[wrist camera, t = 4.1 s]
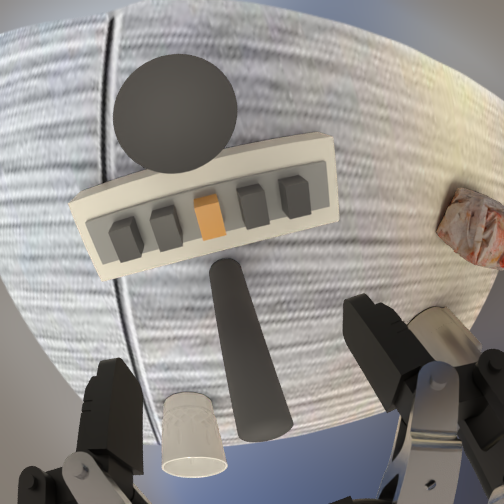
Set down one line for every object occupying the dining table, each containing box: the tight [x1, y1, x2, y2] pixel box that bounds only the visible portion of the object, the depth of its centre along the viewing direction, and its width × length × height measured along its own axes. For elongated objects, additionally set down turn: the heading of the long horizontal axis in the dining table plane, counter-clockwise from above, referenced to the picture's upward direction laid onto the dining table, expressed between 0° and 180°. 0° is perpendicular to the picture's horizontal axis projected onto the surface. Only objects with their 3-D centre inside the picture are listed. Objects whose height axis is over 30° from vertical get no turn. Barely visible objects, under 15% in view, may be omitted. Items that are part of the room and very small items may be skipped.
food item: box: [436, 188, 504, 271], centre depth 27 cm, size 14×8×10 cm, turn 78°
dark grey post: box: [113, 54, 237, 174], centre depth 13 cm, size 3×3×16 cm
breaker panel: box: [68, 132, 339, 282], centre depth 22 cm, size 20×7×5 cm, turn 100°
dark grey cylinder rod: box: [209, 259, 293, 442], centre depth 21 cm, size 3×3×16 cm
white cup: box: [162, 392, 227, 478], centre depth 32 cm, size 8×8×10 cm
